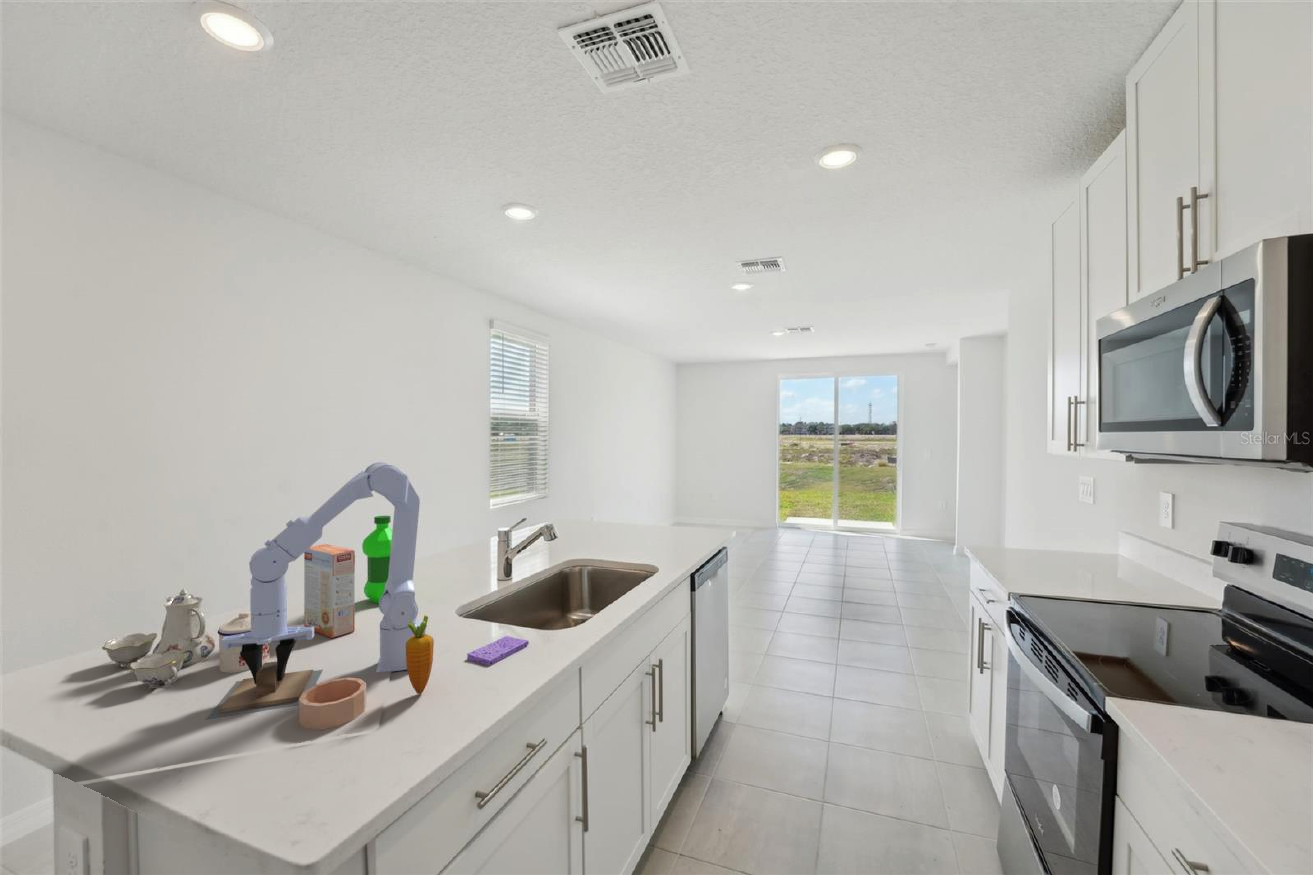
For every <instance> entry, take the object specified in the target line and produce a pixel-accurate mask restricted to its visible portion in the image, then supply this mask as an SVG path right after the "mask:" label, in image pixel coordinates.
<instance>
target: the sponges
mask: <svg viewBox="0 0 1313 875" xmlns="http://www.w3.org/2000/svg"><path fill="white" fill-rule="evenodd" d="M529 644H530V642H529V640H528V639H523V638H522V639H521V638H517V637H516V638H515V637H512V636H510V635H509V636H508V635H506V636H502V637H501V638H499V639H498V638H497V640H495V641H493V642H490V643H488V644H486V645H485V646H484V645H483V646H481V647H479V648H477V649H475V650H472V651H469V652H468V653H467V657H466V660H467V661H472V662H475V663H479V664H482V665H486V666H489V667H490V666H492V665H495V664H496V663H498V662H500V661H502V660H503V659H506V658H507V657H509V656H512V655H513V654H515V653H517V652H519V651H521V650H523V649H525V648H527V647H528V645H529Z"/></svg>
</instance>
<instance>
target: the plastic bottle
mask: <svg viewBox="0 0 1313 875" xmlns="http://www.w3.org/2000/svg"><path fill="white" fill-rule="evenodd" d="M373 518H374V519H373V523H374V525H376V527H375V529H374V530H373V531H372V532H370V533H369V534H368V535H367V536H366V537H365V538H364V539H363V542H362V545H361V546H362V547H361V548H362V552H363V554H364V555H365V556H367V557H366V558H367V562H366V563H367V581H366V582H365V584H364V587H363V593H364V595H365V597H367V599H369V600H370V601H372V602H373V603H374V604H379V600H380V598H381V596H382V595H383V593H384V590H385V584H386V582H387V579H388V574H389V563H390V552H391V541H392V530H393V529H391V528H390V527H389V524H390V523H391V521H392V520H391V518H392V517H391V515H378V516H377V515H376V516H374V517H373Z"/></svg>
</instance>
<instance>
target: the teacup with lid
mask: <svg viewBox="0 0 1313 875" xmlns="http://www.w3.org/2000/svg"><path fill="white" fill-rule="evenodd" d="M248 632H251V613H250V610H249V611H248V610H245V611H242V612H240V613H238V616H237V617H235V618H233V619H231V620H230V621H228V622H226V623H223V624H222V625H220V627H219V628H218V630H217V634H218V641H219V644H218V645H219V646H218V648H219V650H218V652H219V654H218V656H219V672H221V673H226V674H227V673H228V674H229V673H230V674H231V673H241V672H246V671H250V669H249V667H248V665H247V664H246V662H245V661H244V660H243V659H242V657H241V656H240V652H241V651H242V647H234V648H229V649H227V650H221V640H222V639H223V638H224V637H225V636H232V635H238V634H243V633H248ZM271 644H272V643H268V644H263V653H262V666H263V664H264V663H268V662H270V658H271V657H270V654H271V653H270V652H271V651H270V649H271V648H270V646H271Z"/></svg>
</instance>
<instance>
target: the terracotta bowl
mask: <svg viewBox="0 0 1313 875" xmlns="http://www.w3.org/2000/svg"><path fill="white" fill-rule="evenodd" d="M366 707H367V683H366V681H364V680H363V679H361V678H356V677H343V678H335V679H329V680H326V681H323V682H321V683H320V682H319V683H318V684H317V683H316V685H314V686H313V687H311V688H309V689H308V690H306V691H304V692H303V693H302V695H301V697H300V699H299V705H298V722H299V725H301V726H302V727H303V728H304V729H308V730H309V729H311V730H323V729H330V728H336V727H339V726H342V725H344V724H347V723H350V722H352V721H355V719H357V718H359V717H360V715H362V714H363V713H364V712H365V710H366Z"/></svg>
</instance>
